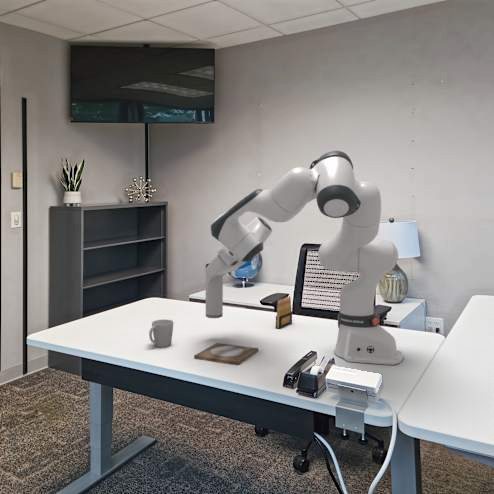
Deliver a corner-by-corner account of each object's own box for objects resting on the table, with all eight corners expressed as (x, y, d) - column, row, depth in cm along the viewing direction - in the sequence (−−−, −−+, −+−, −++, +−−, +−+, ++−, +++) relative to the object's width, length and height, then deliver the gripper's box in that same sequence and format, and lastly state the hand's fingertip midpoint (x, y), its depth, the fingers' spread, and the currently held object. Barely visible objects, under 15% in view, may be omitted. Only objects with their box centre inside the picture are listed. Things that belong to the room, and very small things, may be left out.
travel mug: (226, 316, 182) (226, 262, 180) (213, 319, 177) (214, 264, 175) (214, 313, 186) (215, 261, 184) (202, 316, 181) (202, 262, 179)
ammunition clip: (279, 329, 198) (279, 299, 197) (275, 328, 199) (275, 299, 198) (292, 323, 207) (292, 295, 206) (288, 323, 208) (288, 295, 207)
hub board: (258, 351, 169) (258, 347, 169) (238, 365, 155) (238, 361, 154) (217, 345, 176) (217, 341, 176) (194, 358, 161) (194, 354, 161)
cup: (178, 344, 177) (177, 321, 176) (158, 351, 169) (157, 327, 168) (162, 341, 181) (162, 318, 181) (142, 347, 173) (142, 323, 172)
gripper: (243, 244, 186) (220, 269, 191) (217, 250, 167) (193, 276, 172) (254, 257, 184) (231, 281, 189) (229, 263, 166) (204, 290, 171)
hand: (212, 279), depth 181 cm, fingers closed on travel mug, 6 cm apart
